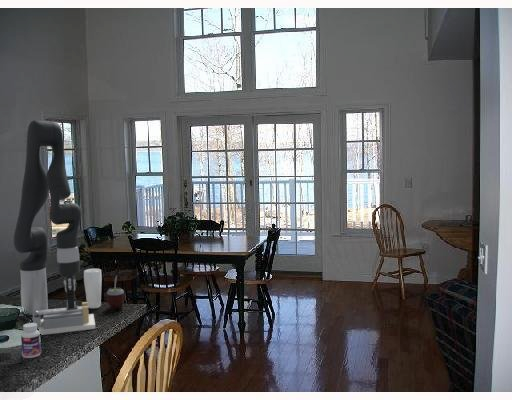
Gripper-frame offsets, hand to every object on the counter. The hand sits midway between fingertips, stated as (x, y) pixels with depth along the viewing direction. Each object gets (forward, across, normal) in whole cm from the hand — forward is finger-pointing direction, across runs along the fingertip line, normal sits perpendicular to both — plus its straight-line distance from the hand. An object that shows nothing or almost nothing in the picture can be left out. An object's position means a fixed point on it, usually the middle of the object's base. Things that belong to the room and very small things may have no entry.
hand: (71, 307), depth 196 cm
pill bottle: (+7, -24, +12) cm, 28 cm away
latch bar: (+2, +1, +4) cm, 4 cm away
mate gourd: (+7, +15, -17) cm, 23 cm away
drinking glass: (+7, +21, -8) cm, 24 cm away
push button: (+7, +26, 0) cm, 27 cm away
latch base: (+7, +1, +3) cm, 8 cm away
